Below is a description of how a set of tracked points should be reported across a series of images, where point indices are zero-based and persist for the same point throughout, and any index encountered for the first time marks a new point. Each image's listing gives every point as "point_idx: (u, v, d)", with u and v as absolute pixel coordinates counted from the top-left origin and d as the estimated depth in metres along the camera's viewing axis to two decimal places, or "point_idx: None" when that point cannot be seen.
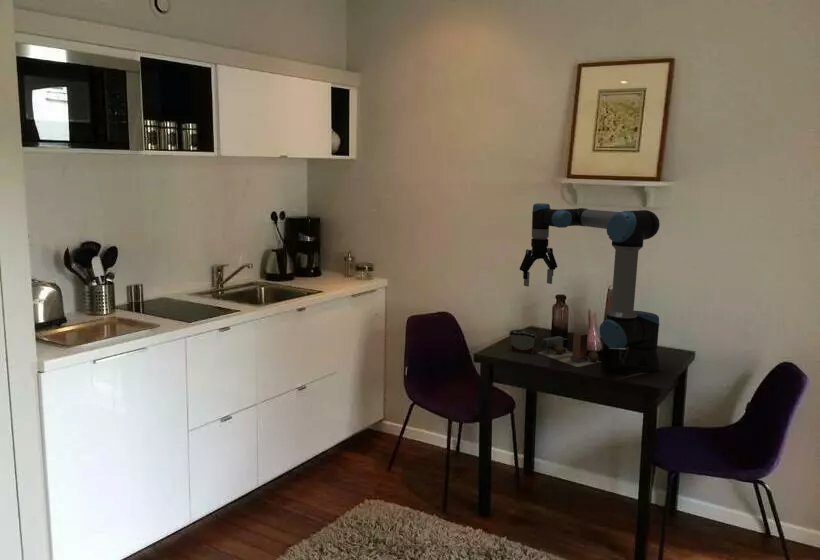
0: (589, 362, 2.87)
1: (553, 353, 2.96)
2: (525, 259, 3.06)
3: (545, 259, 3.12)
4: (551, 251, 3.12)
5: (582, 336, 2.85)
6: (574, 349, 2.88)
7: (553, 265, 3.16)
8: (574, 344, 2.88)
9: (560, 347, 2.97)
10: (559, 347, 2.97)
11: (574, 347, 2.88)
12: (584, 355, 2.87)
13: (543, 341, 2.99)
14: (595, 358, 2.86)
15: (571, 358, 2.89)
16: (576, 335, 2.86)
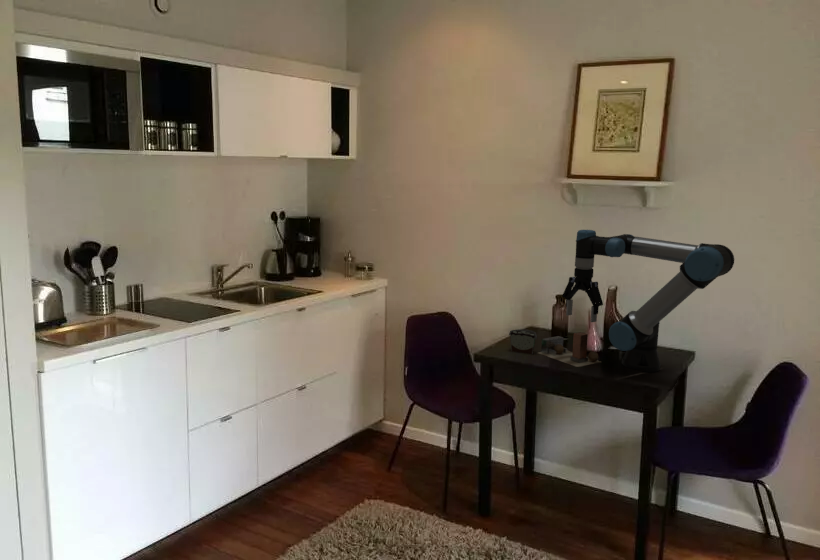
0: (589, 362, 2.87)
1: (553, 353, 2.96)
2: None
3: None
4: (592, 285, 2.77)
5: (582, 336, 2.85)
6: (574, 349, 2.88)
7: None
8: (574, 344, 2.88)
9: (560, 347, 2.97)
10: (559, 347, 2.97)
11: (574, 347, 2.88)
12: (584, 355, 2.87)
13: (543, 341, 2.99)
14: (595, 358, 2.86)
15: (571, 358, 2.89)
16: (576, 335, 2.86)
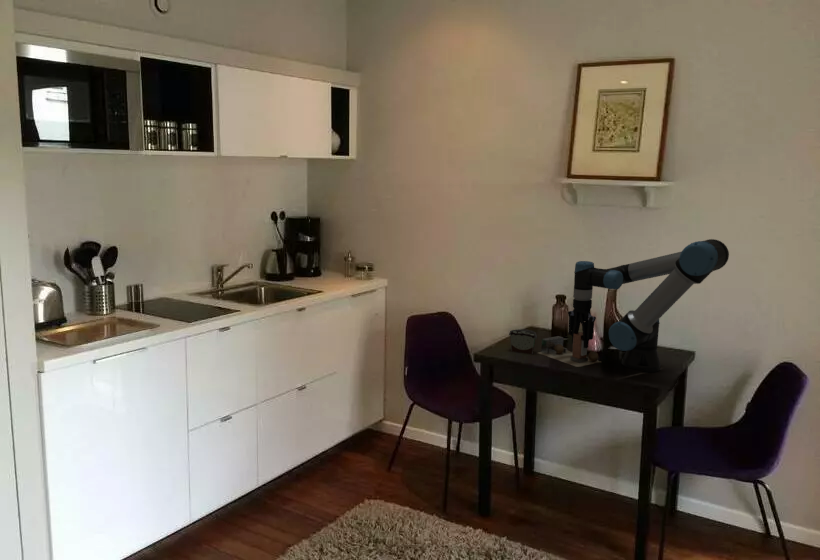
0: (589, 362, 2.87)
1: (553, 353, 2.96)
2: None
3: None
4: (589, 320, 2.80)
5: (582, 336, 2.85)
6: (574, 349, 2.88)
7: None
8: (574, 344, 2.88)
9: (560, 347, 2.97)
10: (559, 347, 2.97)
11: (574, 347, 2.88)
12: (584, 355, 2.87)
13: (543, 341, 2.99)
14: (595, 358, 2.86)
15: (571, 358, 2.89)
16: (576, 335, 2.86)
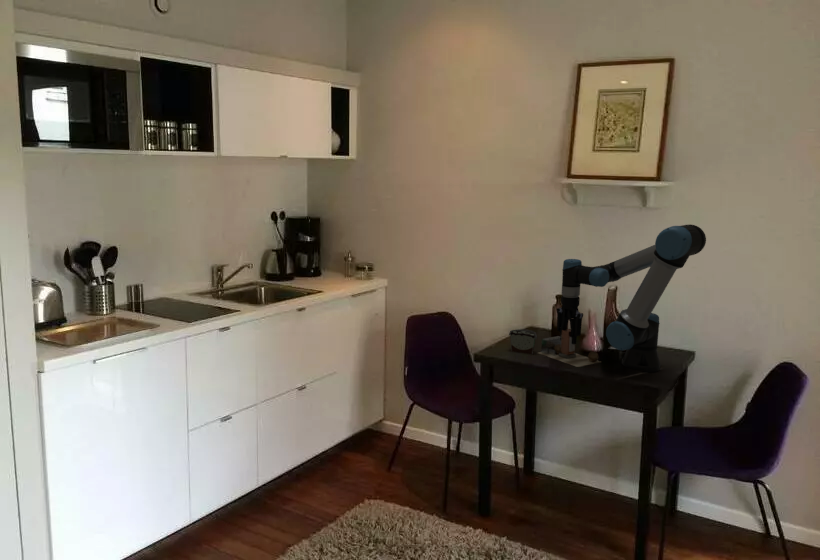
0: (589, 362, 2.87)
1: (553, 353, 2.96)
2: None
3: None
4: (577, 316, 2.86)
5: (570, 332, 2.90)
6: (563, 345, 2.93)
7: None
8: (563, 341, 2.93)
9: (560, 347, 2.97)
10: (559, 347, 2.97)
11: (562, 344, 2.94)
12: (572, 351, 2.93)
13: (543, 341, 2.99)
14: (595, 358, 2.86)
15: (559, 354, 2.95)
16: (564, 331, 2.92)
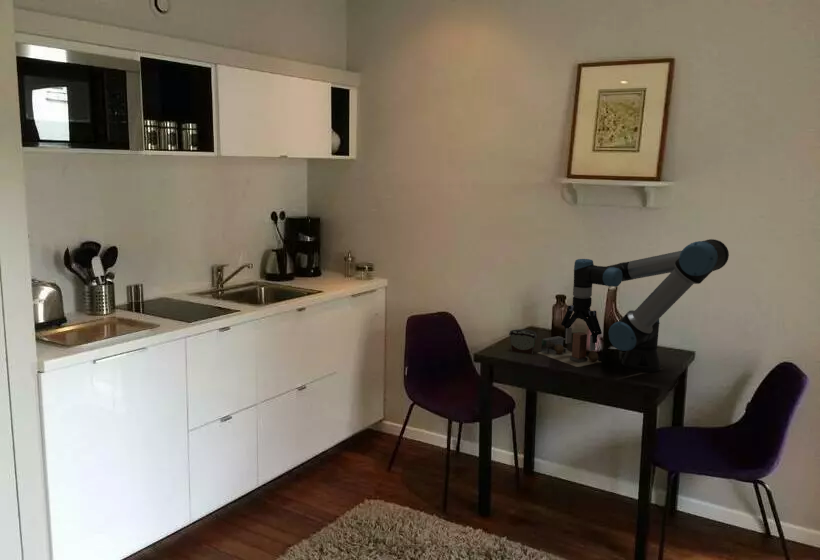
0: (589, 362, 2.87)
1: (553, 353, 2.96)
2: None
3: None
4: (590, 314, 2.80)
5: (581, 336, 2.85)
6: (574, 348, 2.88)
7: None
8: (574, 344, 2.88)
9: (560, 347, 2.97)
10: (559, 347, 2.97)
11: (573, 347, 2.88)
12: (583, 355, 2.88)
13: (543, 341, 2.99)
14: (595, 358, 2.86)
15: (570, 358, 2.89)
16: (575, 335, 2.87)
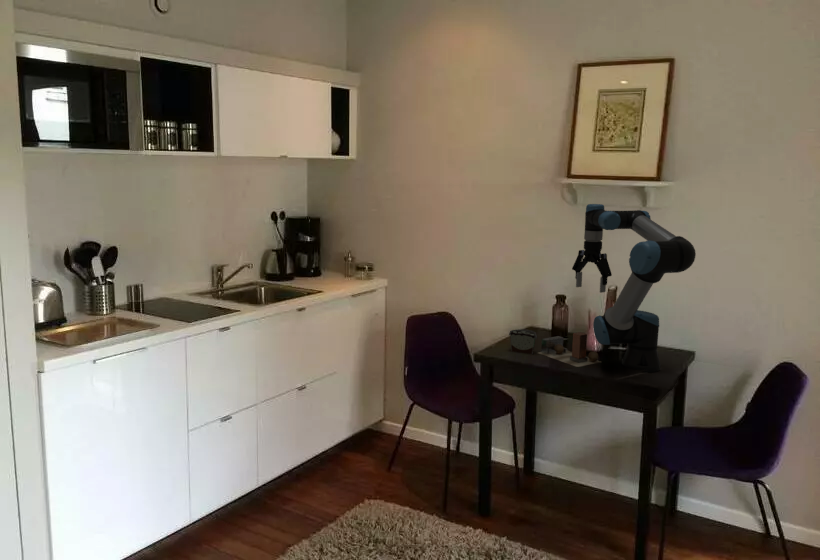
0: (589, 362, 2.87)
1: (553, 353, 2.96)
2: None
3: None
4: (601, 257, 2.89)
5: (581, 336, 2.85)
6: (574, 348, 2.88)
7: None
8: (574, 344, 2.88)
9: (560, 347, 2.97)
10: (559, 347, 2.97)
11: (573, 347, 2.88)
12: (583, 355, 2.88)
13: (543, 341, 2.99)
14: (595, 358, 2.86)
15: (570, 358, 2.89)
16: (575, 335, 2.87)
